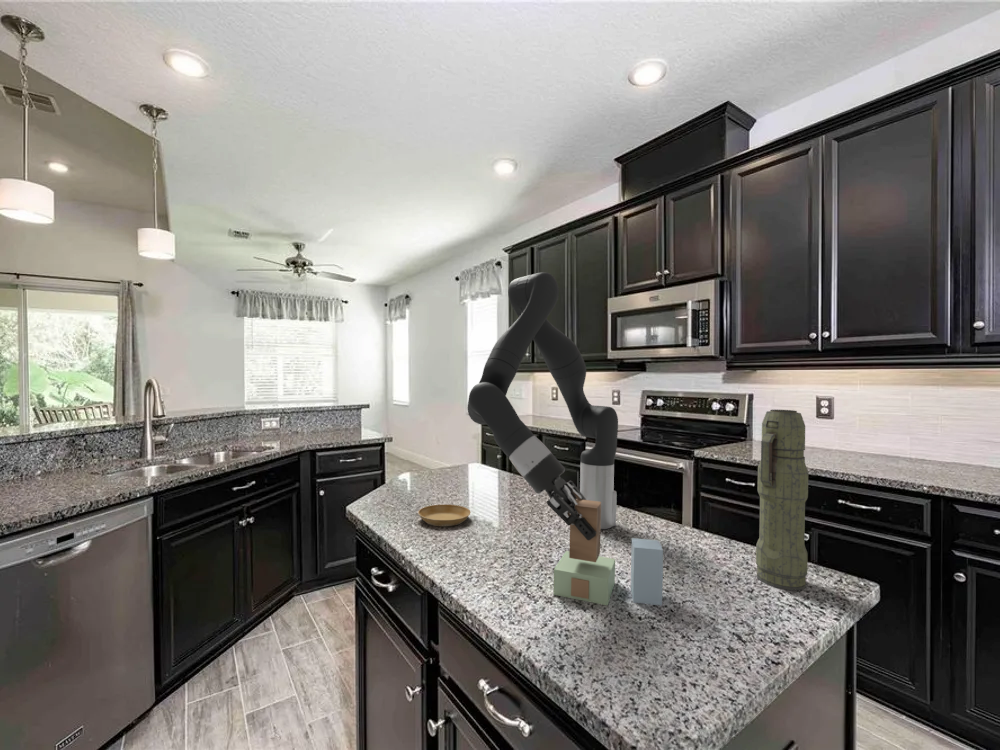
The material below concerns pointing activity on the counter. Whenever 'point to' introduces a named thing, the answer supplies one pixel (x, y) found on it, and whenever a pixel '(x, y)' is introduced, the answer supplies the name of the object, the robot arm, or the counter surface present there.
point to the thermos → (782, 501)
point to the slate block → (646, 571)
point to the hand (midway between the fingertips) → (595, 532)
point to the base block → (585, 579)
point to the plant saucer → (444, 514)
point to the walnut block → (578, 542)
